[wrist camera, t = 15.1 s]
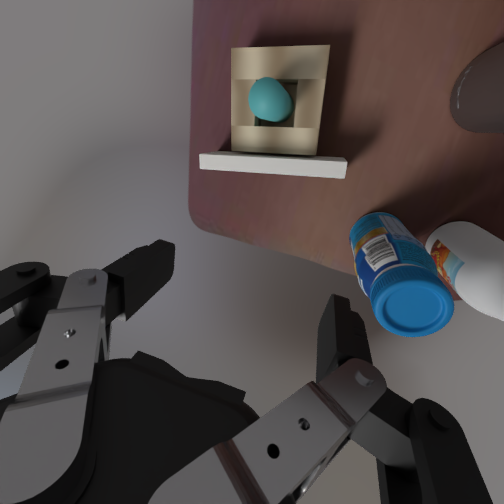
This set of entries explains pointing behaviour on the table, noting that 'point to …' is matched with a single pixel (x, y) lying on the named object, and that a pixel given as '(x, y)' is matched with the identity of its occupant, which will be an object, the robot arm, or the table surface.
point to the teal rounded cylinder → (270, 100)
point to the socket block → (294, 82)
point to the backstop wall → (275, 164)
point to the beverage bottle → (399, 277)
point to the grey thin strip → (471, 264)
